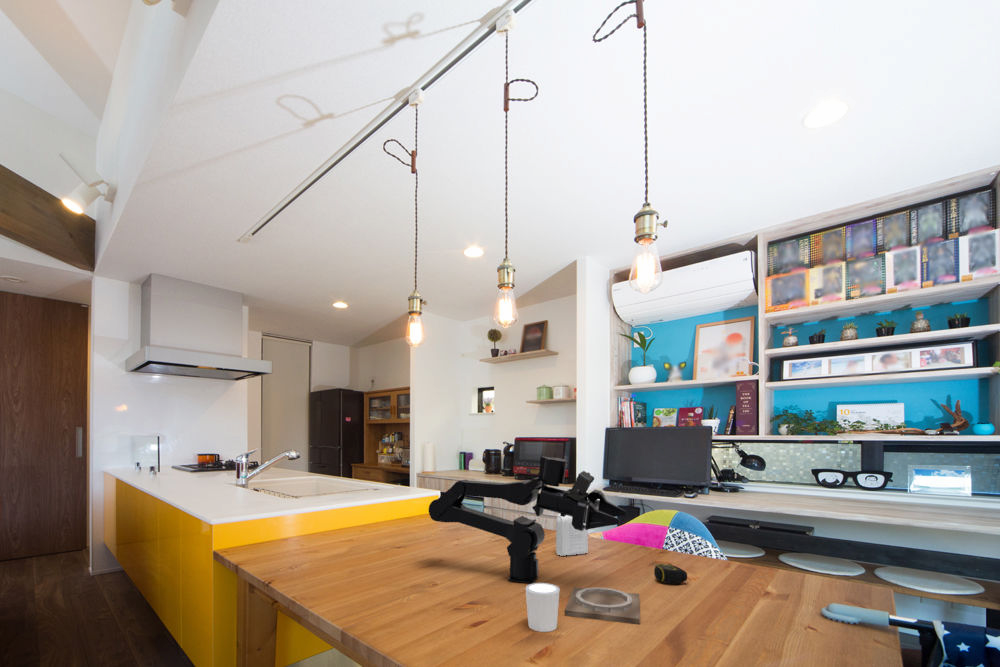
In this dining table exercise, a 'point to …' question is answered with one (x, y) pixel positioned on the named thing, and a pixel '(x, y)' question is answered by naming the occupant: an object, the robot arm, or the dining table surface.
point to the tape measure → (669, 574)
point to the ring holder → (604, 605)
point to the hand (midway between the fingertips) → (622, 517)
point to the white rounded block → (570, 537)
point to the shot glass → (542, 606)
